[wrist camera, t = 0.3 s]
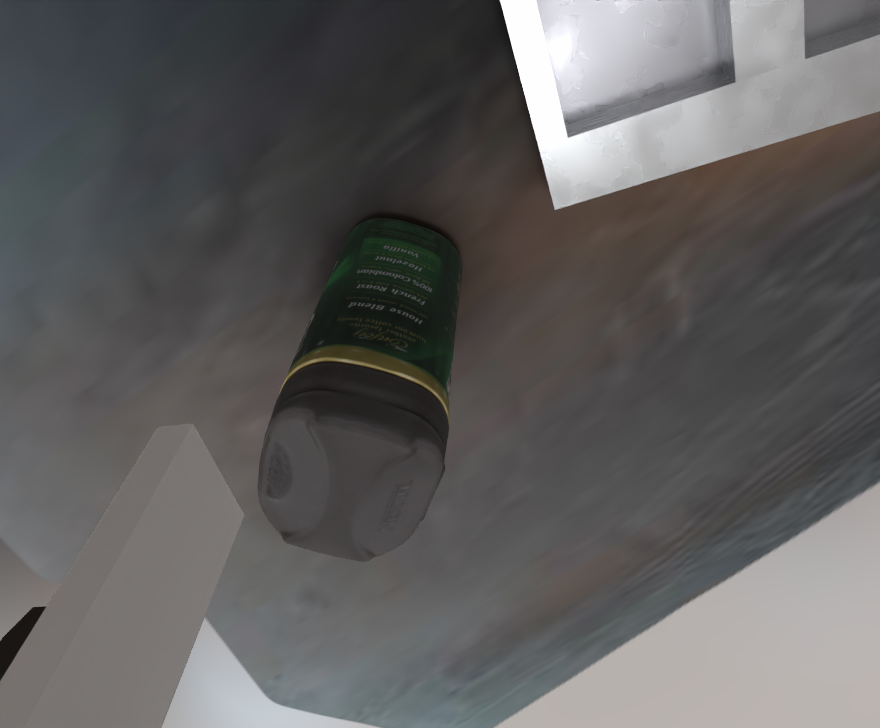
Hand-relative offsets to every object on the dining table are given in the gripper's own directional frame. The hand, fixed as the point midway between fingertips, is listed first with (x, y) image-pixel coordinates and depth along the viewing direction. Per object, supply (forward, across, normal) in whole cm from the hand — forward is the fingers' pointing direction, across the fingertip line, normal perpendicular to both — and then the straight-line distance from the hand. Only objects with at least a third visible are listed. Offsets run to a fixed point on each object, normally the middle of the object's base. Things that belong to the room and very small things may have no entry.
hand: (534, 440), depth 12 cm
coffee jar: (+27, -8, -10) cm, 30 cm away
